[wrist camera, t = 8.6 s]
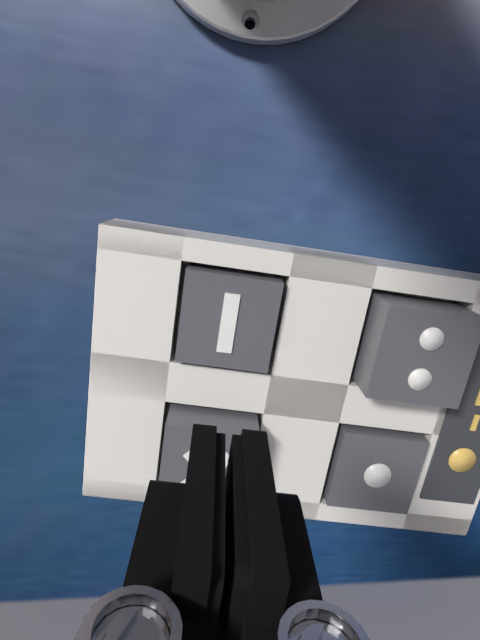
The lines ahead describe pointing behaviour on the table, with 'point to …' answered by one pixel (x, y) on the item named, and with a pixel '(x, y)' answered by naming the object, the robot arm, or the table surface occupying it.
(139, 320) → the keypad
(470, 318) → the pair key
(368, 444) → the dot key
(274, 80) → the table surface
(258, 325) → the bar key
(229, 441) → the cross key
